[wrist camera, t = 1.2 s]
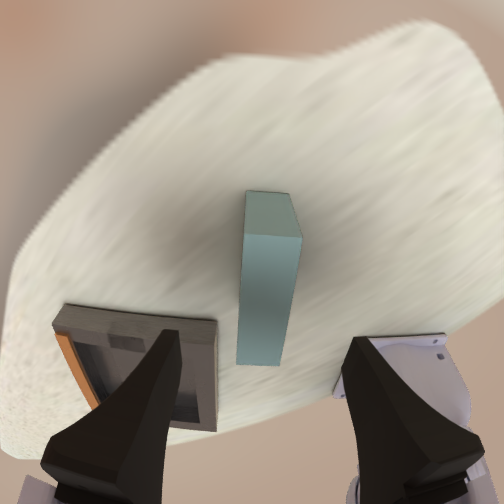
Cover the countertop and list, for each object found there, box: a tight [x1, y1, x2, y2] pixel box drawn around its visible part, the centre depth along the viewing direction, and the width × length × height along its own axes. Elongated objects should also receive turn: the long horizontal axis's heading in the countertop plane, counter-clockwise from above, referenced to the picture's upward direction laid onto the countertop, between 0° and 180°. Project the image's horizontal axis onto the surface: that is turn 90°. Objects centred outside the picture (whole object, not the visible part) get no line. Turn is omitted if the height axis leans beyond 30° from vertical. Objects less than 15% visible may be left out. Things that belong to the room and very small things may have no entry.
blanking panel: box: [236, 191, 303, 366], centre depth 17 cm, size 2×8×6 cm, turn 176°
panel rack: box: [52, 304, 218, 432], centre depth 24 cm, size 13×13×3 cm
